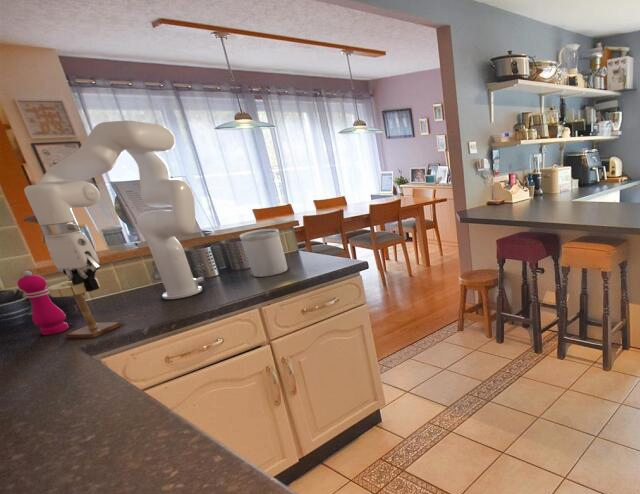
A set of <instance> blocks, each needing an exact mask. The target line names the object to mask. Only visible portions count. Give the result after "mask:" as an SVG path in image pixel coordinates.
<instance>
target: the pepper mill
mask: <svg viewBox="0 0 640 494" xmlns="http://www.w3.org/2000/svg"><path fill="white" fill-rule="evenodd" d="M22 275H23V277H20V278H19V279H18V281H17V287H18V289H19V290H21V291H23V292H24V295H25V298H28V299H29V301H30V303H31V305H32V313H31V320H32V322H33V324H34V325H35V326H36V327H40V328H39V331H40V333H41V335H42V336H49V335H55V334H58V333H59V334H60V333H62V332H65V331H67V330H69V328H70V327H69V325H68V323H67V322H66V321H65V320H66V318H67V316H66V314H65V312H64V311H63V310H62V309H61V308H59V307H58V306H57V305H56V304H55V303H54V302H53V301H52V299H51V298H50V296H49V294H50V293H49V291H48V289H47V288H46V287H47V286H48V284H47V283H48V282H47V280H46V278H44V277H43V276H41V275H37V274H33V273H32V271H30V270H24V271H23V272H22Z"/></svg>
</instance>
